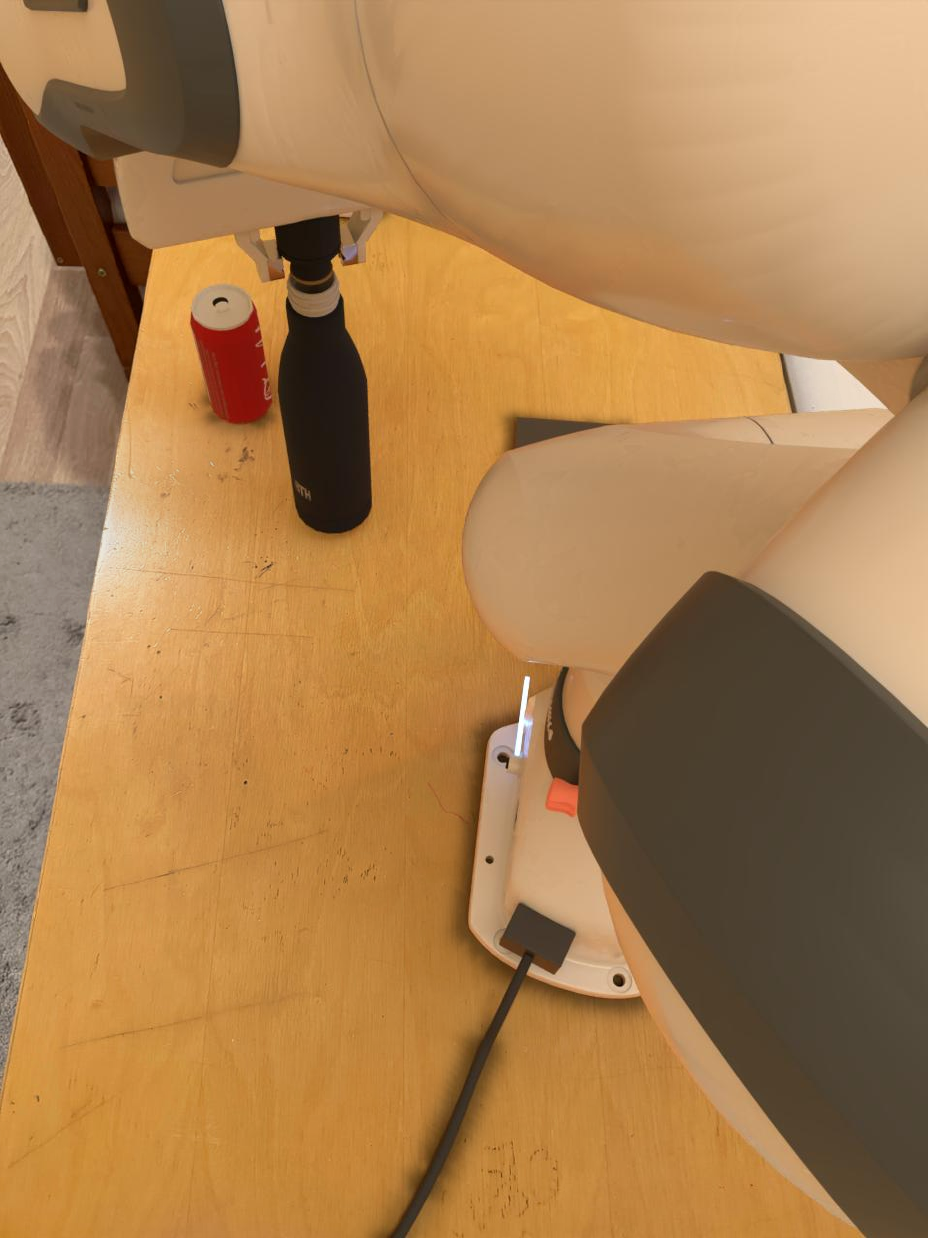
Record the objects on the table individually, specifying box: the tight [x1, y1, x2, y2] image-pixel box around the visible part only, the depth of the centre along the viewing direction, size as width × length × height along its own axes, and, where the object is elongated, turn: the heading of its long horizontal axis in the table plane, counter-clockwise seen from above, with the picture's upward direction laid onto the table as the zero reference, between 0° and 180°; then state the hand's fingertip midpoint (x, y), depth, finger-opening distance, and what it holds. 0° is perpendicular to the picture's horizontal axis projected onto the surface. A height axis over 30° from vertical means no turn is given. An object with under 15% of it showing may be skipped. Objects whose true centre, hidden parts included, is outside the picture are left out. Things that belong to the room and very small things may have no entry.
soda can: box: [189, 282, 273, 424], centre depth 86 cm, size 6×6×12 cm
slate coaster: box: [514, 416, 619, 449], centre depth 89 cm, size 10×10×1 cm
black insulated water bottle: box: [273, 215, 373, 535], centre depth 71 cm, size 6×6×30 cm
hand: (311, 265), depth 62 cm, fingers closed on black insulated water bottle, 4 cm apart
